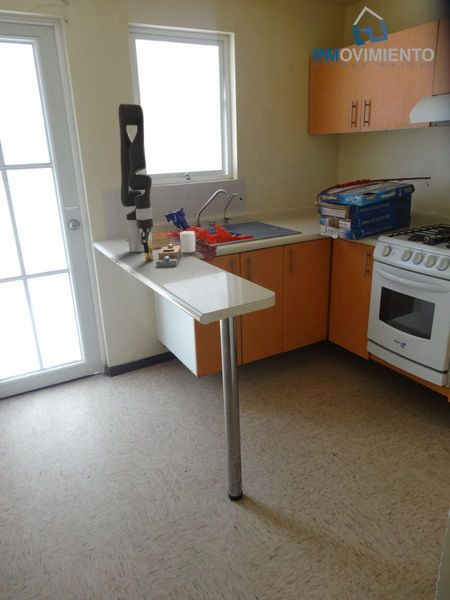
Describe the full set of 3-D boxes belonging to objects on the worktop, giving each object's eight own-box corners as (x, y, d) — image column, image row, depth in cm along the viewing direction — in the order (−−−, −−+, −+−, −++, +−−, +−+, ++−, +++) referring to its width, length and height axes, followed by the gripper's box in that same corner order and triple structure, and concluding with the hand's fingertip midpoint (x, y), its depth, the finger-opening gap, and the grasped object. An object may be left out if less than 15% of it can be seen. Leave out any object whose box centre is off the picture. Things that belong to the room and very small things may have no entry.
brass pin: (144, 261, 210) (141, 237, 206) (146, 259, 214) (143, 235, 210) (152, 261, 210) (149, 236, 206) (154, 259, 214) (151, 235, 210)
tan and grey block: (156, 267, 197) (155, 253, 195) (163, 256, 218) (162, 243, 216) (176, 266, 197) (174, 252, 195) (181, 255, 218) (180, 242, 216)
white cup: (182, 253, 222) (181, 234, 219) (180, 250, 229) (178, 232, 226) (197, 251, 224) (196, 232, 221) (194, 249, 231) (193, 230, 228)
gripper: (139, 216, 212) (143, 248, 217) (133, 220, 199) (138, 254, 204) (154, 215, 212) (158, 247, 217) (149, 219, 198) (153, 253, 204)
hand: (148, 251), depth 210 cm, fingers open, 8 cm apart
